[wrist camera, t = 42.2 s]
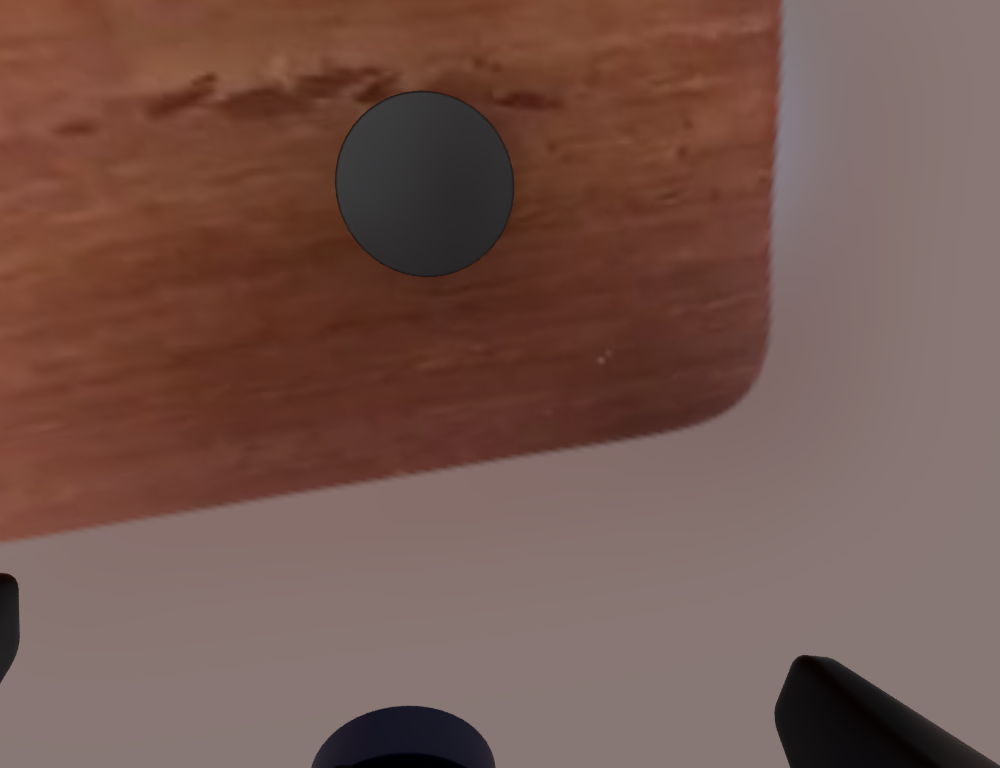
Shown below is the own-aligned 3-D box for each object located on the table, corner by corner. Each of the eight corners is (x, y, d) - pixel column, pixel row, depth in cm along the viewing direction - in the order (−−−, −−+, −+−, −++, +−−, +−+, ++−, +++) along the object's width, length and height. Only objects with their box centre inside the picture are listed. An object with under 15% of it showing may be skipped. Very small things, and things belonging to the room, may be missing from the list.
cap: (489, 274, 17) (498, 291, 15) (340, 249, 17) (324, 262, 14) (516, 119, 16) (531, 110, 14) (358, 87, 15) (344, 70, 13)
